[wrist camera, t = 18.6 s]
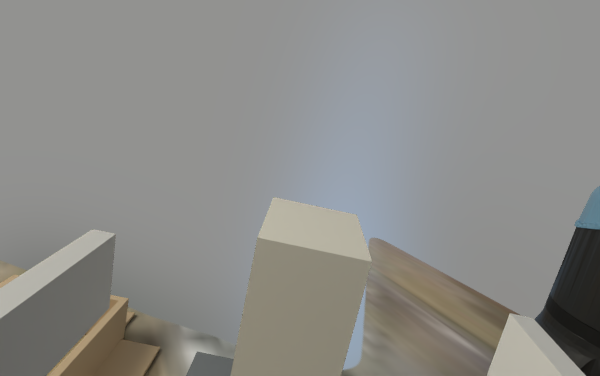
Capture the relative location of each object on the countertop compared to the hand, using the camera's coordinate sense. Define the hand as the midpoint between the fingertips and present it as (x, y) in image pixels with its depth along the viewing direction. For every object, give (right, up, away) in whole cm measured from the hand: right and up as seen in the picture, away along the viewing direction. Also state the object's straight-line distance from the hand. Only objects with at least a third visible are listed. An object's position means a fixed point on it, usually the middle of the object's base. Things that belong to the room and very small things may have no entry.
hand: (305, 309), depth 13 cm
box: (-3, -13, +15) cm, 20 cm away
